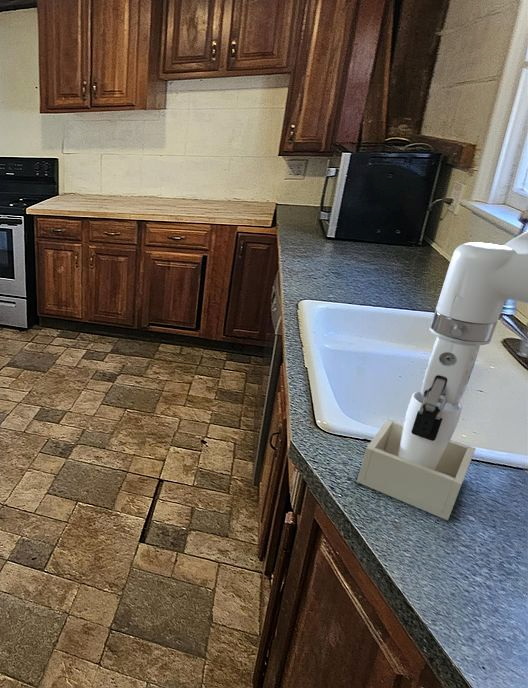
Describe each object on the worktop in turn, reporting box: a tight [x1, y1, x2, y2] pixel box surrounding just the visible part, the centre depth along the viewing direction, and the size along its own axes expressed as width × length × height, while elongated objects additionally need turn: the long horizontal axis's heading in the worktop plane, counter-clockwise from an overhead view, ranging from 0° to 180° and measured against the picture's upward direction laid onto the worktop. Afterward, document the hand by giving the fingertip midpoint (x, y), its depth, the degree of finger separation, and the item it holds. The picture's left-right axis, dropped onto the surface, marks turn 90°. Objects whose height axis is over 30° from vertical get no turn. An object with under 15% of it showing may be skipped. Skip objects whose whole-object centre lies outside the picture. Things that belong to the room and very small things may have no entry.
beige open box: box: [356, 418, 476, 521], centre depth 89 cm, size 13×13×7 cm
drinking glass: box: [398, 390, 463, 471], centre depth 87 cm, size 7×7×15 cm
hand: (428, 426), depth 86 cm, fingers closed on drinking glass, 6 cm apart
